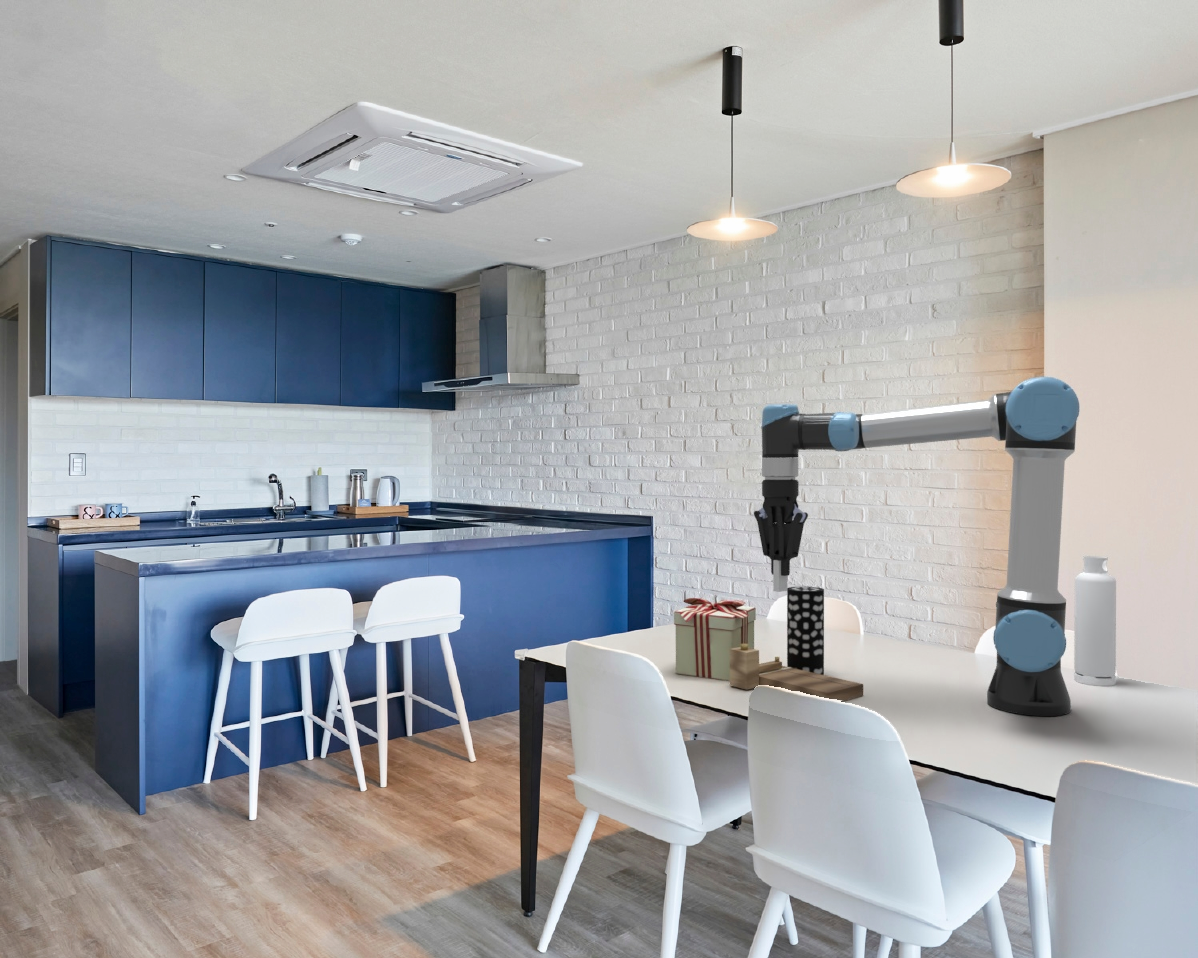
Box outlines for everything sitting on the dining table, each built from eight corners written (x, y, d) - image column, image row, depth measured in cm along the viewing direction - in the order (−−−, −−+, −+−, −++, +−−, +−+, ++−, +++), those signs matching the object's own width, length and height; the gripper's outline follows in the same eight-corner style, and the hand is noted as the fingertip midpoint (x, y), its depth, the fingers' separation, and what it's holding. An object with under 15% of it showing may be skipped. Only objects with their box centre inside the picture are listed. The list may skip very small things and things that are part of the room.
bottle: (1081, 675, 205) (1081, 554, 205) (1120, 681, 199) (1121, 556, 199) (1069, 681, 199) (1069, 557, 199) (1109, 687, 193) (1109, 559, 193)
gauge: (787, 680, 200) (787, 639, 200) (746, 689, 192) (746, 647, 191) (770, 676, 204) (770, 636, 204) (729, 685, 195) (729, 643, 195)
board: (863, 695, 187) (863, 683, 187) (827, 705, 180) (827, 692, 180) (772, 674, 207) (772, 663, 207) (736, 681, 200) (736, 670, 200)
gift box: (668, 677, 204) (667, 603, 204) (694, 661, 221) (694, 592, 220) (740, 685, 197) (739, 607, 196) (761, 668, 213) (761, 596, 213)
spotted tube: (824, 679, 201) (824, 591, 201) (787, 678, 203) (787, 590, 203) (823, 671, 210) (823, 587, 209) (787, 669, 211) (787, 586, 211)
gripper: (816, 478, 183) (816, 592, 184) (768, 478, 194) (768, 586, 194) (792, 479, 179) (793, 595, 179) (744, 478, 189) (745, 589, 189)
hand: (780, 590), depth 187 cm, fingers closed
